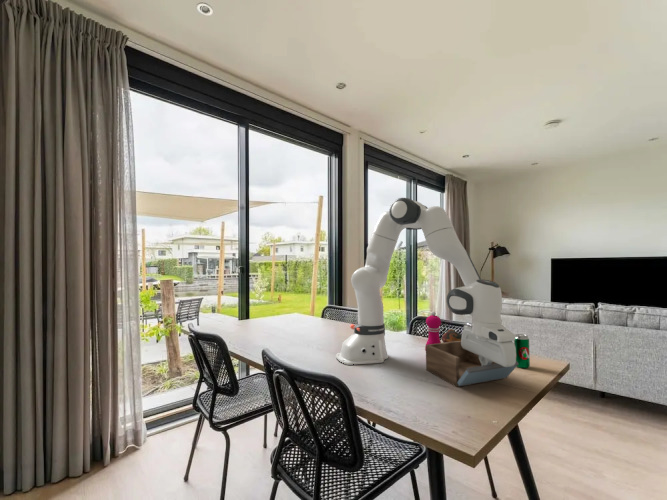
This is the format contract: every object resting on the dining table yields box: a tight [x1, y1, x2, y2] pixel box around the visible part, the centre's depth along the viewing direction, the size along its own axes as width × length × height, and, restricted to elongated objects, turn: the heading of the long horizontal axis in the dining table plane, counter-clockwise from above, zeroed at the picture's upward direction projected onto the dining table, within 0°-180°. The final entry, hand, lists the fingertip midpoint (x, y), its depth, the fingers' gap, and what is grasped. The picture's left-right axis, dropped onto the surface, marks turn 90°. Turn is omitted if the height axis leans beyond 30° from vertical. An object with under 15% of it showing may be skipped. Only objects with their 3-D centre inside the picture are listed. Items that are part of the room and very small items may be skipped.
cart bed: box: [425, 341, 505, 388], centre depth 118 cm, size 20×17×10 cm
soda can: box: [513, 333, 531, 370], centre depth 125 cm, size 5×5×12 cm
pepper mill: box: [424, 311, 442, 352], centre depth 134 cm, size 7×7×20 cm
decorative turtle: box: [441, 328, 462, 343], centre depth 151 cm, size 10×15×8 cm, turn 170°
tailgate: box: [457, 361, 519, 387], centre depth 107 cm, size 20×1×8 cm
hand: (485, 370), depth 108 cm, fingers closed
